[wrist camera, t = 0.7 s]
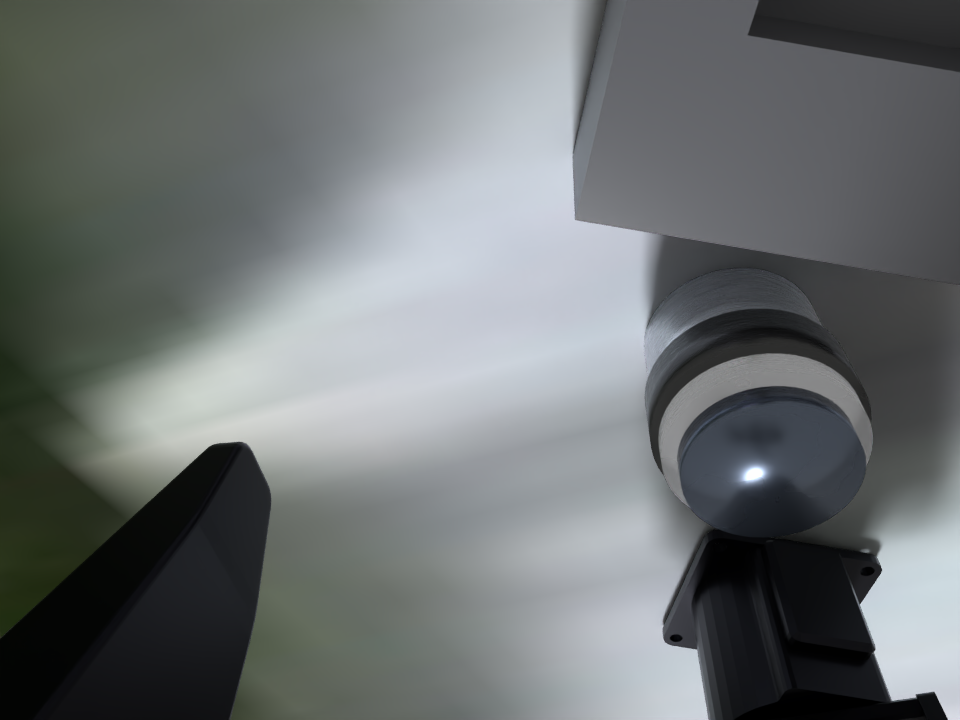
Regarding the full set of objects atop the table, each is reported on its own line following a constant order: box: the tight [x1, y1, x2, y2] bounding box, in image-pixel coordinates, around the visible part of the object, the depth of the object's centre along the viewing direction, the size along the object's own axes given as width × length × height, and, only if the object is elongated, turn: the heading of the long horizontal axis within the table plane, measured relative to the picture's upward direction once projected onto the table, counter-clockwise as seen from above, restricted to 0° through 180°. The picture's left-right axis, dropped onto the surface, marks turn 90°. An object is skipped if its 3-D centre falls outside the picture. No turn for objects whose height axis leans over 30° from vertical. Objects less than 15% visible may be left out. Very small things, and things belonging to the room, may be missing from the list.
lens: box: [644, 268, 873, 537], centre depth 22 cm, size 6×6×6 cm
